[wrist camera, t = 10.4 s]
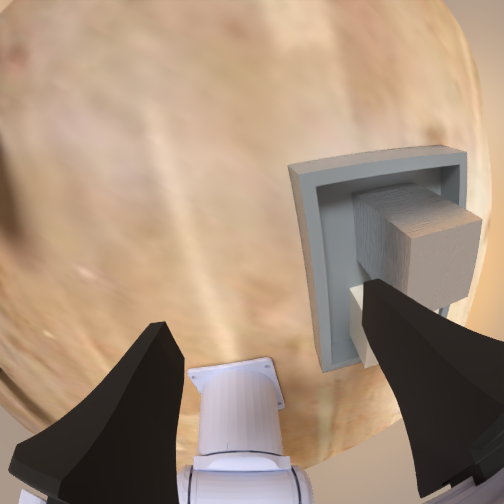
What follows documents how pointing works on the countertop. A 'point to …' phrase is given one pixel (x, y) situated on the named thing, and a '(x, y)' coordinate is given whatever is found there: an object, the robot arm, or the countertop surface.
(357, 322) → the cream bevelled block
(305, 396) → the countertop surface
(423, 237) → the tin
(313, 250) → the tote
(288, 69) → the countertop surface
